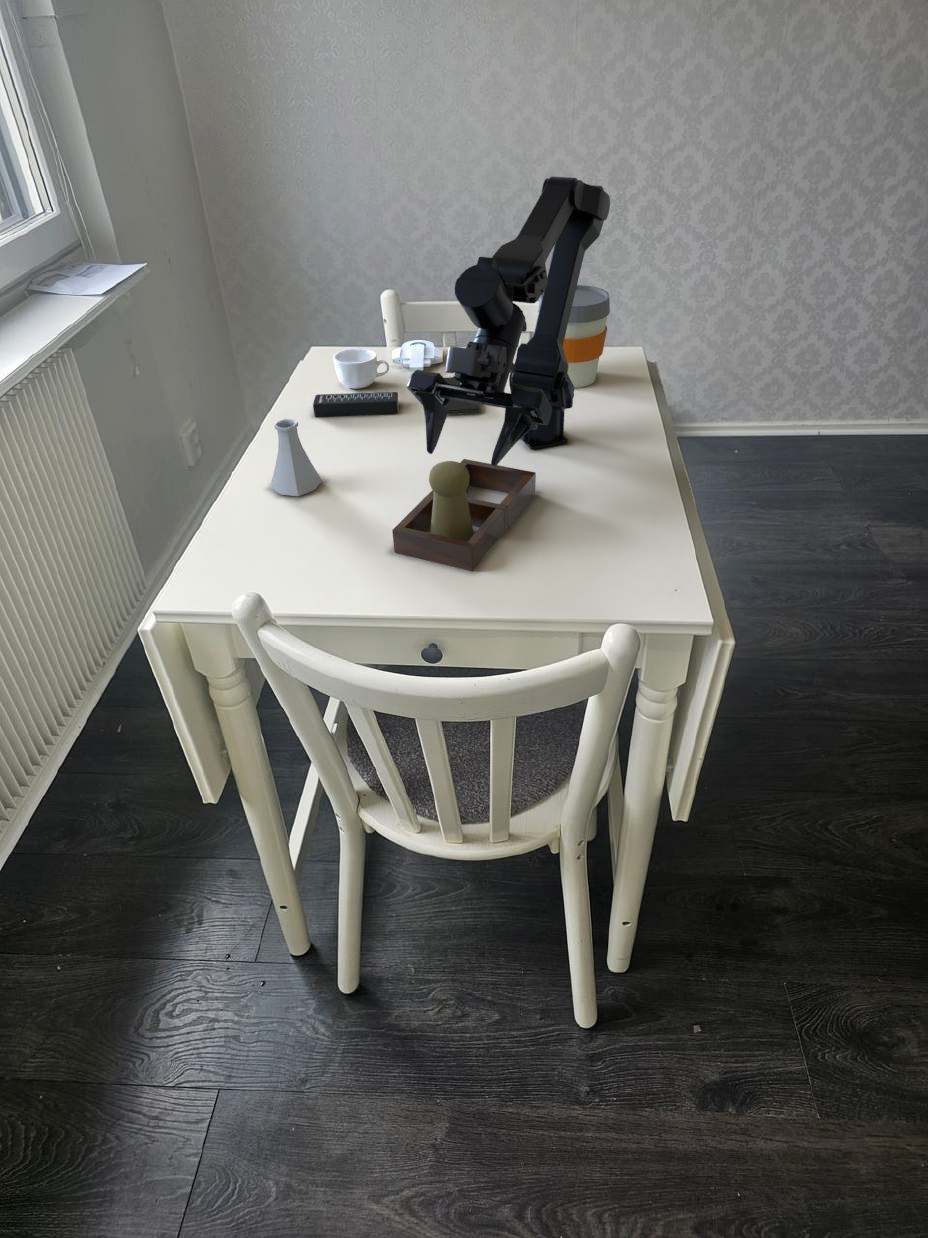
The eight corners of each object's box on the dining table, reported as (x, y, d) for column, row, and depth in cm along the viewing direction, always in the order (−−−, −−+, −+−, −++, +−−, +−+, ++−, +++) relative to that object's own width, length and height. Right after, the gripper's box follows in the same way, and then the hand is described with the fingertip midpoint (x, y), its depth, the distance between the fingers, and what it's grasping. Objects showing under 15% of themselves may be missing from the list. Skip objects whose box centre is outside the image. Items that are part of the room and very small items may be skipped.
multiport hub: (397, 414, 147) (396, 401, 146) (314, 417, 147) (312, 404, 146) (399, 403, 151) (398, 391, 149) (317, 406, 151) (315, 394, 149)
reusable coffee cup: (608, 367, 161) (614, 285, 152) (601, 393, 151) (607, 308, 142) (542, 363, 163) (544, 283, 154) (531, 389, 154) (532, 305, 145)
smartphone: (481, 413, 146) (476, 379, 158) (481, 409, 146) (476, 375, 157) (438, 416, 146) (436, 381, 158) (438, 411, 145) (436, 377, 157)
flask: (299, 502, 124) (288, 438, 118) (262, 490, 127) (249, 427, 121) (330, 481, 129) (321, 419, 123) (294, 470, 132) (283, 409, 126)
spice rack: (464, 479, 128) (463, 458, 126) (535, 493, 124) (536, 472, 122) (394, 552, 112) (392, 529, 110) (472, 571, 108) (471, 548, 106)
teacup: (333, 392, 156) (329, 363, 152) (341, 376, 162) (337, 348, 158) (387, 392, 155) (384, 363, 152) (393, 376, 161) (391, 348, 158)
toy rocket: (442, 373, 161) (442, 361, 160) (391, 375, 161) (390, 363, 160) (443, 343, 174) (442, 332, 172) (395, 345, 174) (394, 334, 173)
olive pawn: (469, 554, 112) (467, 478, 105) (424, 550, 113) (419, 475, 106) (478, 530, 116) (476, 456, 110) (435, 526, 117) (430, 453, 111)
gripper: (408, 307, 108) (372, 423, 107) (546, 324, 101) (510, 448, 100) (439, 348, 118) (406, 454, 117) (566, 366, 111) (533, 479, 110)
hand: (460, 458), depth 111 cm, fingers open, 9 cm apart
